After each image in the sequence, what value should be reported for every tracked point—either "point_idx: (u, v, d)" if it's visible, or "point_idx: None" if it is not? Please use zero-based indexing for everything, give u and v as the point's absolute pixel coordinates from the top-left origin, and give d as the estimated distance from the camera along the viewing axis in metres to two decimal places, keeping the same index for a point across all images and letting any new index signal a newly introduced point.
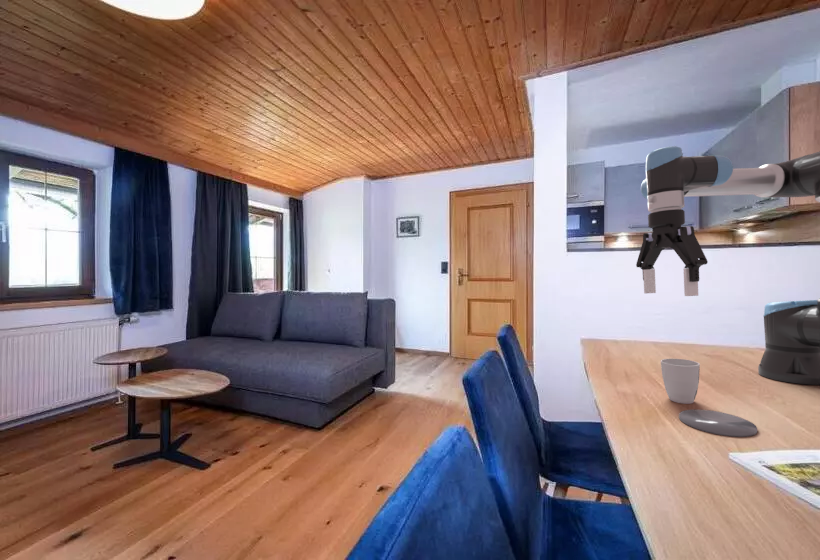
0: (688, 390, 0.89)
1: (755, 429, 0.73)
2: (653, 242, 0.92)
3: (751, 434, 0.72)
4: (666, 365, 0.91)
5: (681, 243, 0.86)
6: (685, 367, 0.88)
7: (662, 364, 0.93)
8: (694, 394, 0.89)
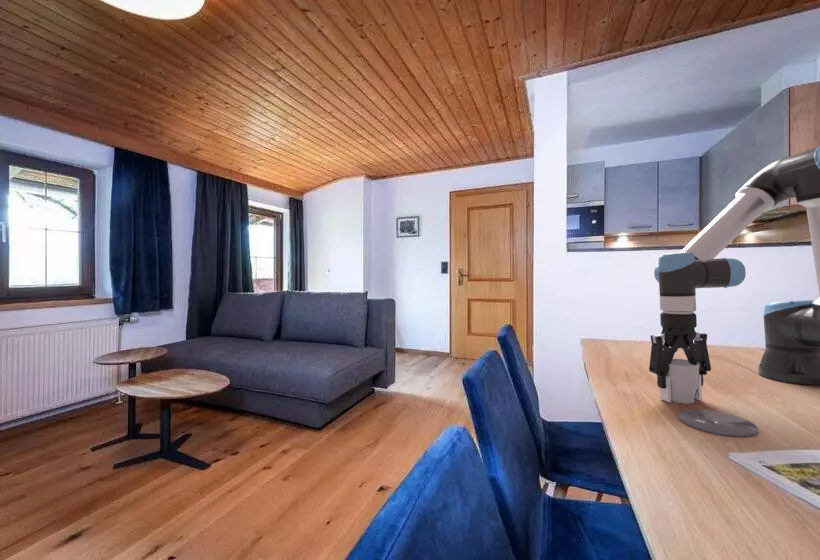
0: (687, 390, 0.89)
1: (755, 429, 0.73)
2: None
3: (751, 434, 0.72)
4: None
5: (668, 349, 0.91)
6: (685, 367, 0.88)
7: None
8: (694, 394, 0.89)
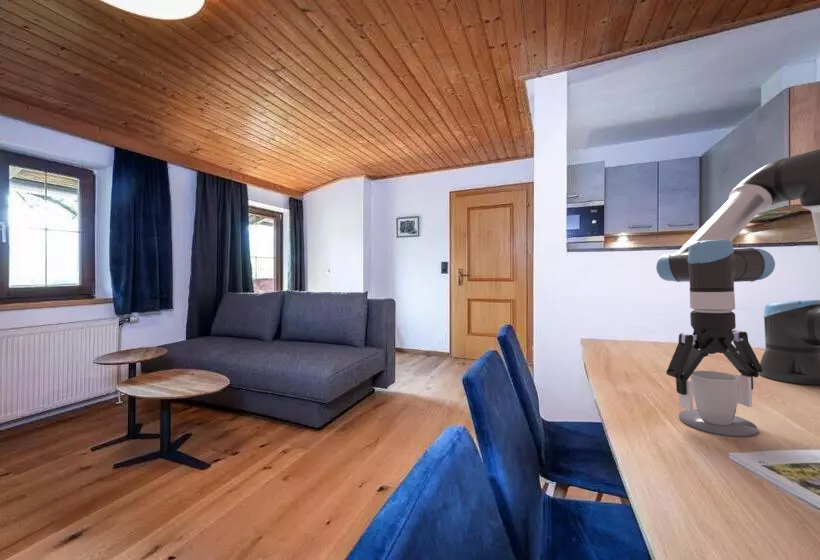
0: (725, 409, 0.74)
1: (755, 429, 0.73)
2: None
3: (751, 434, 0.72)
4: (698, 379, 0.77)
5: (698, 351, 0.77)
6: (722, 382, 0.74)
7: (693, 378, 0.79)
8: (733, 414, 0.75)
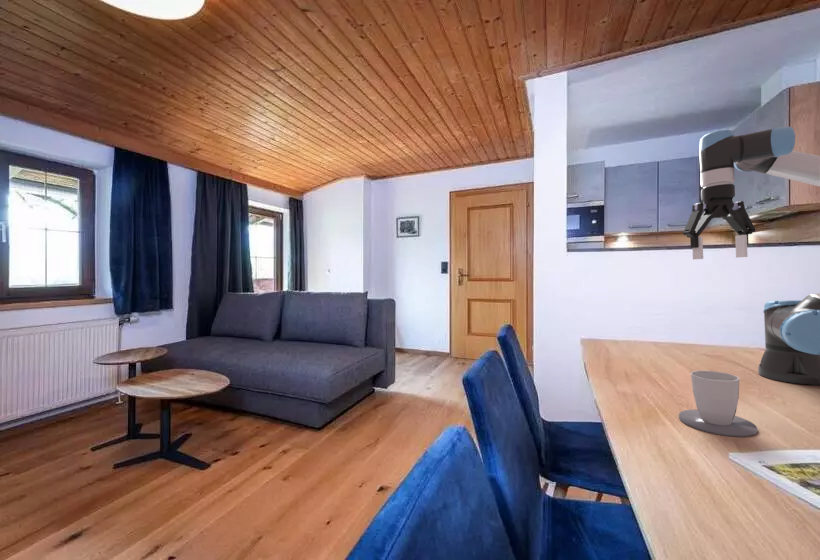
0: (725, 409, 0.74)
1: (755, 429, 0.73)
2: None
3: (751, 434, 0.72)
4: (699, 379, 0.77)
5: (707, 215, 1.03)
6: (722, 382, 0.74)
7: (693, 378, 0.79)
8: (733, 414, 0.75)
